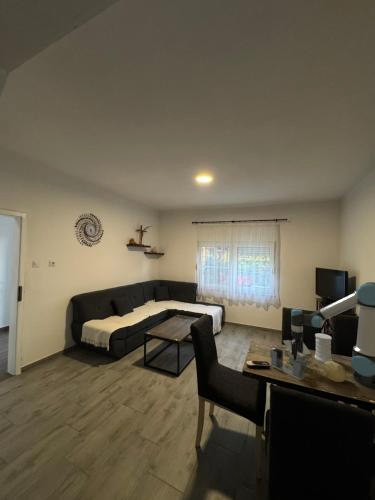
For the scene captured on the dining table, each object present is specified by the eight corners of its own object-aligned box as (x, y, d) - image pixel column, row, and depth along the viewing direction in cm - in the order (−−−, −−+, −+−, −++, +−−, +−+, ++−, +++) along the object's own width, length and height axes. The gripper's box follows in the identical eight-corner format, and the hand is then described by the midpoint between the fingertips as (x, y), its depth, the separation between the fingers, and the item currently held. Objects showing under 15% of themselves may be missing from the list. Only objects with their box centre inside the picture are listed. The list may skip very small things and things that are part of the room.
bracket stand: (307, 375, 140) (307, 359, 140) (300, 380, 135) (300, 363, 135) (276, 361, 158) (276, 347, 158) (269, 365, 153) (269, 350, 153)
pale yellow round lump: (320, 374, 142) (320, 358, 143) (337, 374, 142) (337, 358, 143) (331, 384, 131) (331, 367, 131) (350, 384, 131) (350, 367, 131)
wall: (308, 358, 173) (299, 340, 184) (311, 353, 167) (302, 335, 178) (289, 361, 172) (281, 343, 183) (291, 356, 166) (283, 338, 178)
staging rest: (305, 367, 150) (305, 363, 150) (302, 369, 148) (302, 364, 148) (291, 361, 159) (291, 357, 159) (288, 362, 157) (288, 358, 157)
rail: (311, 363, 147) (311, 356, 148) (308, 365, 145) (308, 358, 145) (288, 354, 161) (288, 348, 161) (285, 355, 159) (284, 349, 159)
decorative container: (312, 354, 170) (312, 332, 171) (328, 356, 167) (328, 334, 167) (317, 361, 159) (317, 337, 159) (334, 364, 156) (334, 339, 156)
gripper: (298, 327, 162) (298, 357, 161) (285, 331, 152) (286, 364, 151) (308, 329, 156) (308, 361, 155) (296, 334, 146) (296, 368, 145)
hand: (297, 362), depth 153 cm, fingers closed on rail, 4 cm apart
